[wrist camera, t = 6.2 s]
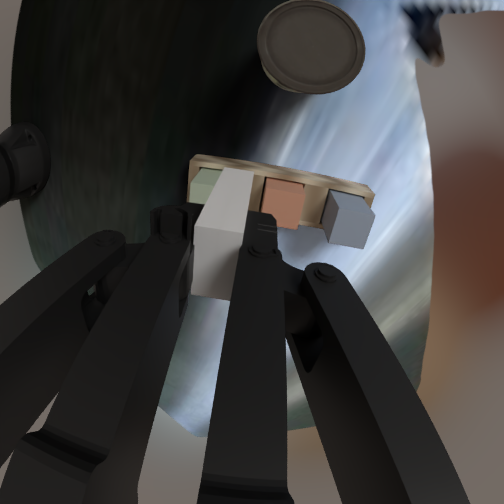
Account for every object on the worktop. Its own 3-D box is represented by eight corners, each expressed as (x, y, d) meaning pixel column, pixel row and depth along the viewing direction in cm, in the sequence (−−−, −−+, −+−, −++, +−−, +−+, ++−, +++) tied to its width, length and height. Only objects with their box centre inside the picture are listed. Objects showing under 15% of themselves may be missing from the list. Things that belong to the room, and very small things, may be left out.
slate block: (320, 219, 43) (328, 242, 37) (329, 188, 40) (339, 207, 34) (351, 225, 43) (363, 249, 37) (360, 195, 40) (375, 215, 35)
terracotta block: (261, 203, 44) (259, 223, 39) (266, 172, 42) (266, 187, 36) (293, 208, 45) (297, 229, 39) (300, 178, 42) (305, 195, 36)
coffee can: (349, 60, 33) (386, 51, 21) (300, 106, 37) (316, 115, 25) (294, 13, 30) (306, -20, 18) (245, 60, 34) (233, 46, 22)
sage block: (199, 199, 42) (188, 220, 36) (202, 166, 40) (190, 182, 34) (233, 204, 43) (227, 226, 37) (238, 171, 40) (232, 188, 34)
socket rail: (192, 196, 45) (186, 206, 42) (196, 154, 42) (189, 160, 38) (354, 224, 46) (360, 236, 43) (367, 185, 43) (375, 194, 39)
